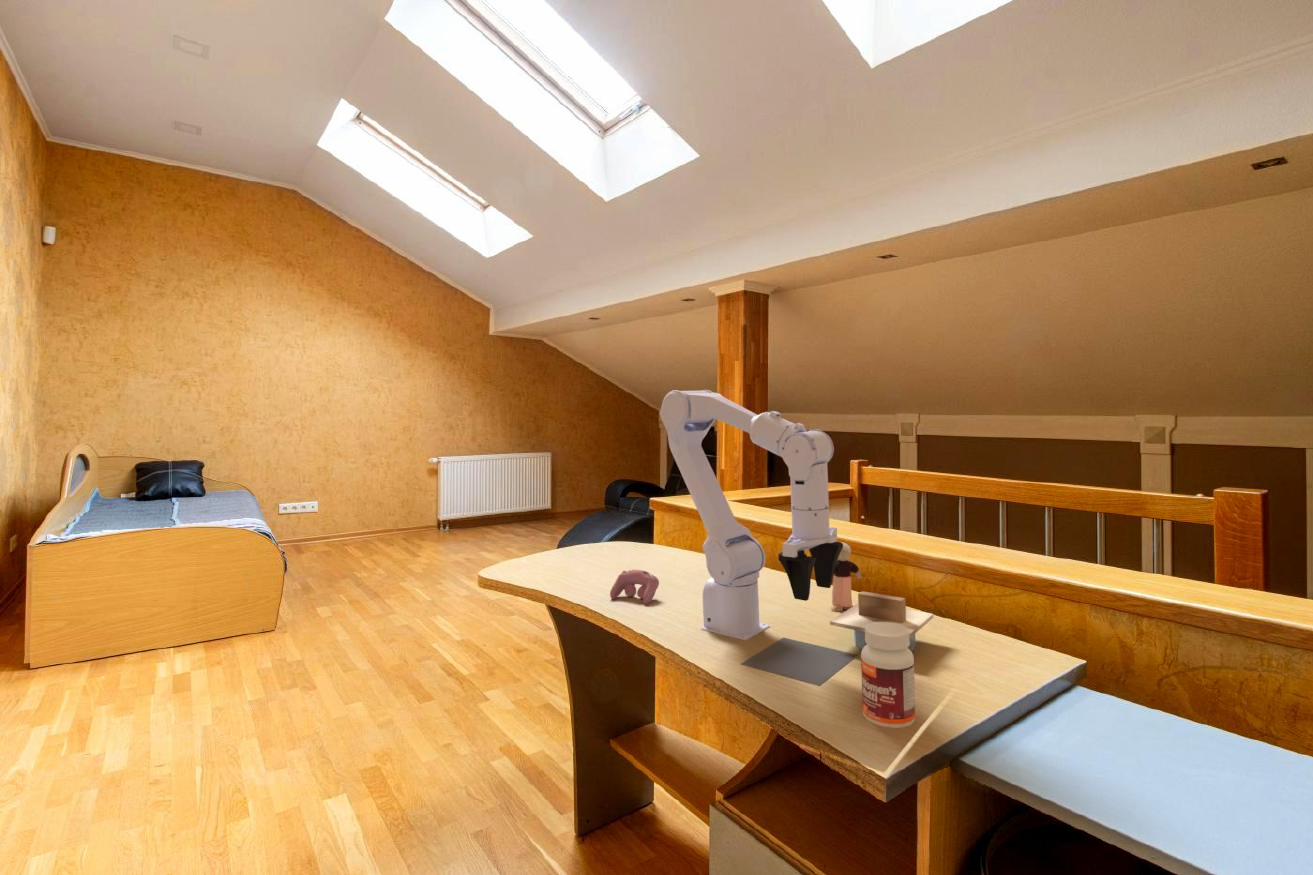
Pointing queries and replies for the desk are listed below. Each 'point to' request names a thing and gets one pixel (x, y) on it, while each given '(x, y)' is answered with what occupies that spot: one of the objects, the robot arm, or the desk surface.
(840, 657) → the mat
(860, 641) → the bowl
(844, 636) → the desk surface
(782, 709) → the desk surface
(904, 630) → the pill bottle
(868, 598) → the lid
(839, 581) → the grandmother figurine
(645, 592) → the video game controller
